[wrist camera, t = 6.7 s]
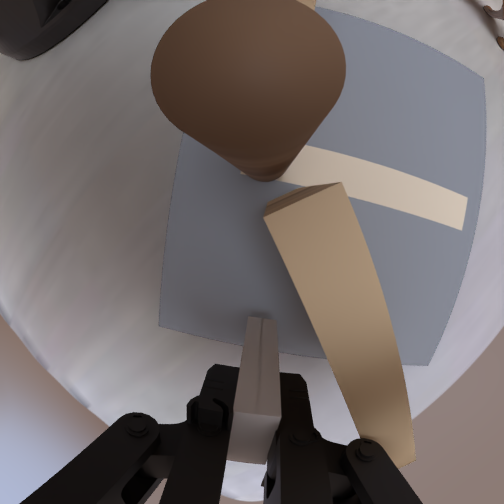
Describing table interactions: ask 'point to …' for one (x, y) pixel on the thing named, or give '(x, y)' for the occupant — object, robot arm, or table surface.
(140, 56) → the table surface
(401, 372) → the hinged fence panel
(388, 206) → the card
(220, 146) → the fence post and fixed section
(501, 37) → the lion figurine
